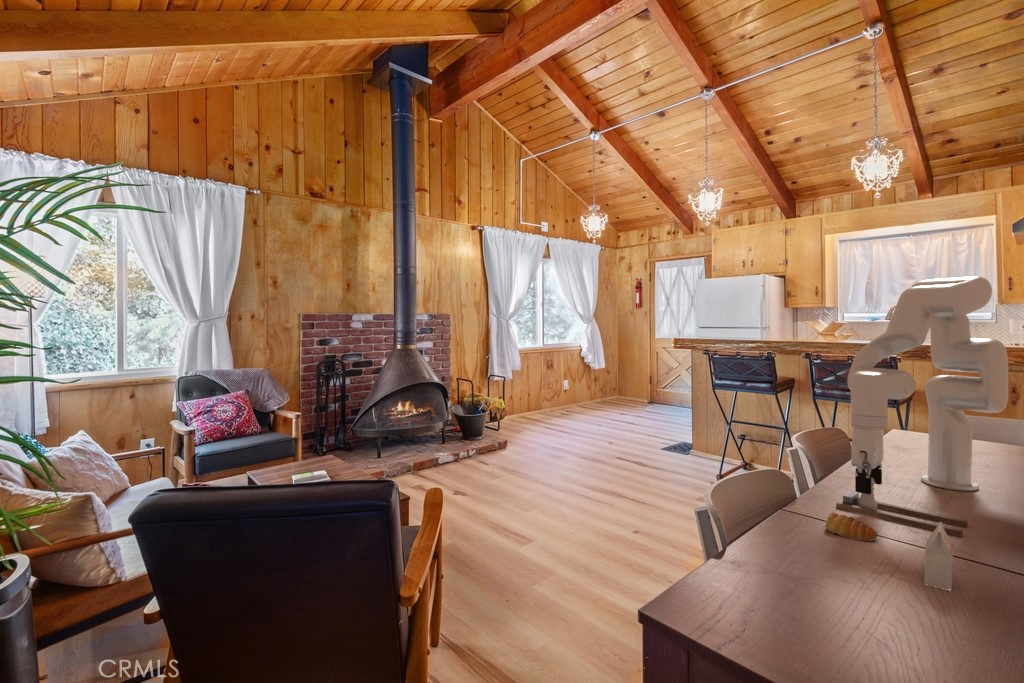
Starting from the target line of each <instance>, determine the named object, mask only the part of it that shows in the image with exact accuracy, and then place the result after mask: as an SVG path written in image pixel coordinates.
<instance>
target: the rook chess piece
mask: <svg viewBox="0 0 1024 683" xmlns="http://www.w3.org/2000/svg"><path fill="white" fill-rule="evenodd" d="M875 483H876V482H875V481H874V479H873V478H871V494H864V493H860V495H859V500H858V501H857V503H858V505H857V506H860V507H864V508H868V509H873V510H877V511H879V508H877V506H878V504H877V503H876V501H877V500H876V499H875V495H874V493H875V492H874V490H875V487H874V485H876V484H875Z"/></svg>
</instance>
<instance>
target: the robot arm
mask: <svg viewBox="0 0 1024 683" xmlns="http://www.w3.org/2000/svg"><path fill="white" fill-rule="evenodd" d="M992 288H993V287H992V284H991V283H990V281H989V280H988V279H986V278H985V277H982V276H964V277H963V276H961V277H946V278H933V279H931V278H930V279H925V280H924V279H923V280H920V281H916V282H915V283H914V284H912V285H911V286H910V287H908V288H906V289H905V290H903V291H902V292H901V294H900V296H899V298H898V300H897V303H896V305H895V307H894V310H893V313H892V315H891V317H890V320H889V322H888V325H887V327H886V330H885V332H884V333H882V334H880V335H878V336H876V337H875V338H873V340H871V341H870V342H868V343H866V344H865V345H864V346H863V347H862V348H861V349H860V350H859V351H858V352H857V353H856V354H855V355H856V356H855V357H854V359H853V360H852V364H851V366H850V368H849V371H848V374H847V381H846V382H847V386H848V389H849V390H850V426H851V427H853V431H852V438H851V453H850V456H851V457H850V464H851V466H852V467H856V468H855V474H854V475H855V477H854V478H855V479H854V480H855V481H854V483H855V485H854V486H855V492H859V494H861V493H864V494H871V478H873V479H874V481H875V482H876V483H875V484H874V485H882V484H883V469H882V466H883V465H882V463H883V461H884V430H887V429H888V417H889V416H888V414H889V413H888V409H889V408H888V401H889V400H904V399H907V398H909V397H910V396H911V395H913V393H914V392H915V391H916V387H917V385H916V383H917V382H916V379H915V378H914V376H913V375H912V374H911V373H909V371H906V370H903V369H896V368H895V369H890V368H882V367H878V368H877V367H875V366H876V365H877V364H878V363H879V362H880V361H882V360H885V359H886V358H888V357H890V356H894V355H897V354H901V353H903V352H907V351H909V350H913V349H916V348H918V347H920V346H922V345H923V344H924V343H925V341H926V338H927V335H928V333H929V330H930V355H931V357H930V358H931V362H932V365H933V366H934V367H935V368H936V369H938V370H941V371H942V370H943V371H949V372H950V371H951V372H960V373H961V372H962V373H975V374H976V373H978V374H979V377H978V376H968V375H952V374H939V375H935V376H932V377H930V378H929V379H928V380H927V381H926V383H925V388H924V390H925V392H924V393H925V397H926V403H927V408H928V409H927V410H928V445H927V446H928V452H927V456H928V457H927V474H926V473H925V474H922V475H921V476H920V480H921V481H922V482H923V483H925V484H927V485H930V486H933V487H937V488H942V489H946V490H954V491H964V492H966V491H967V492H968V491H969V492H970V491H977V490H978V489H979V486H980V485H979V483H977V482H976V481H974V480H972V467H973V466H972V463H973V432H974V431H973V430H974V429H973V423H972V421H971V420H970V418H969V417H968V416H967V414H966V413H965V411H971V412H978V413H986V414H987V413H988V414H999V413H1001V412H1003V411H1004V410H1005V409H1006V408H1007V405H1008V402H1009V359H1008V356H1009V355H1008V351H1007V349H1006V346H1005V345H1004V343H1002V342H1001V341H1000V340H998V339H995V338H988V337H987V338H984V337H982V338H981V337H972V335H971V329H970V328H971V324H970V322H971V321H970V319H969V316H968V314H969V315H970V314H972V313H974V312H975V311H978V310H980V309H982V308H985V307H986V306H987V304H988V303H989V302H990V300H991V299H992V295H993V289H992Z"/></svg>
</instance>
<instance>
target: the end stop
mask: <svg viewBox="0 0 1024 683" xmlns="http://www.w3.org/2000/svg"><path fill="white" fill-rule="evenodd" d="M859 498H860V493H859V492H856V491H854V490H849V491H847V492H846V493H844V494H843V495H842V503H846V504H851V505H855V506H857V505H858V503H857V501H858V500H859Z"/></svg>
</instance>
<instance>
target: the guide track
mask: <svg viewBox="0 0 1024 683" xmlns="http://www.w3.org/2000/svg"><path fill="white" fill-rule="evenodd" d="M876 503H877V504H878V506H877V508H878V509H882V510H885V511H881V510H873V509H868V508H864V507H860V506H855V505H851V504H846V503H843V501H842V502H841V501H837V502H836V503H835V504H836V508H837V509H839V510H844V509H845V511H848V510H849V511H848V512H852V513H853V512H854V513H857V514H862V515H867V516H870V517H875V518H879V519H883V520H888V521H891V522H895V523H900V524H904V525H908V526H912V527H913V526H914V527H915V528H916V527H917V528H921V529H925V530H930V531H932V532H934V530H935V529H936V527H937V526H938V524H939V523H934V522H939V521H940V523H941V522H942V525H943V523H944V524H948V525H953V526H958V527H963V528H968V526H969V520H966V519H961V518H957V517H952V516H947V515H944V514H943V515H942V514H938V513H934V512H933V513H932V512H929V511H924V510H919V509H914V508H911V507H907V506H901V505H897V504H893V503H892V504H891V503H886V502H881V501H878V500H876ZM886 511H891V512H894V513H899V515H898V514H894V513H890V512H886ZM900 514H904V515H908V516H913V517H917V518H922V519H926V520H931V521H934V522H929V521H925V520H921V519H916V518H911V517H908V516H904V515H900ZM943 528H944V530H945V532H946V534H947V535H952V536H955V537H959V536H960V537H959V538H962V537H963V536H964V529H961V528H957V527H952V526H947V525H943Z"/></svg>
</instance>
